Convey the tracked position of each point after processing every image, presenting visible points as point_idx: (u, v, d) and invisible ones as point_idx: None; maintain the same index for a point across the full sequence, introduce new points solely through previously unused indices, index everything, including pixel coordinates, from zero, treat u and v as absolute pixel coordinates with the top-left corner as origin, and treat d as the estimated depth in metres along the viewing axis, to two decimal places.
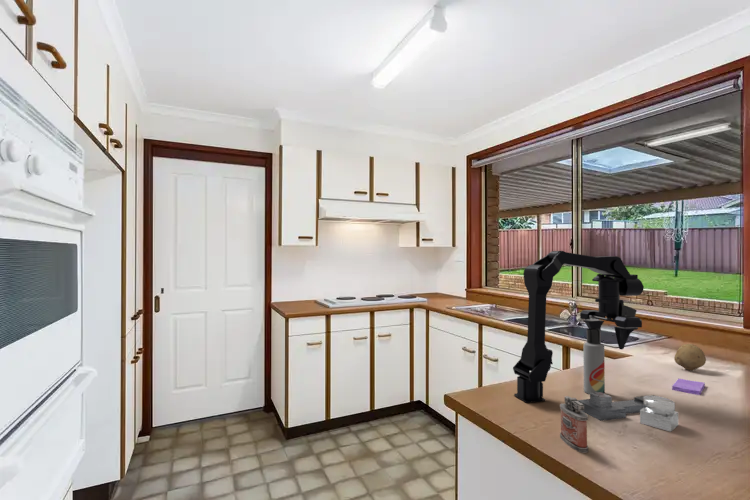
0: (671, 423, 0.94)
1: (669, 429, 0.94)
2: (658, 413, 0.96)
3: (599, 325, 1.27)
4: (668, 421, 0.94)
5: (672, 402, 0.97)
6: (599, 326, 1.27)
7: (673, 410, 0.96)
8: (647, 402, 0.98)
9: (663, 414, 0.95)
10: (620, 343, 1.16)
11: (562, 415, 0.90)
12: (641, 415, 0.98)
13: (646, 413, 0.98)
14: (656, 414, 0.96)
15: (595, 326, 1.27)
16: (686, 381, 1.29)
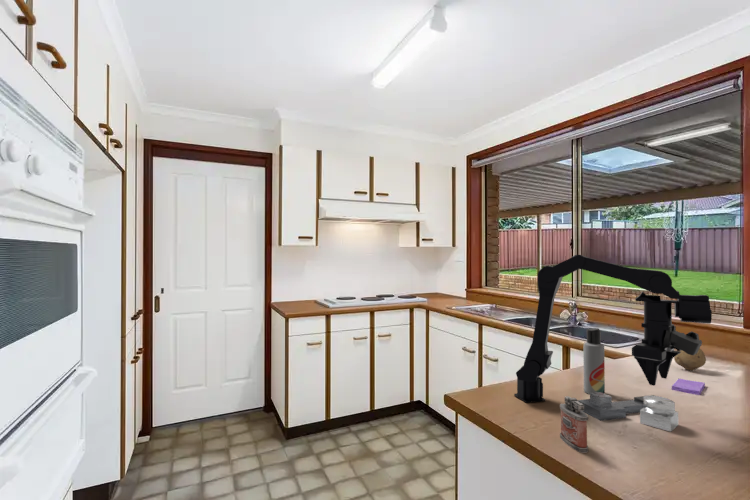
0: (671, 423, 0.94)
1: (669, 429, 0.94)
2: (658, 413, 0.96)
3: (668, 357, 1.01)
4: (668, 421, 0.94)
5: (672, 402, 0.97)
6: (668, 358, 1.01)
7: (673, 410, 0.96)
8: (647, 402, 0.98)
9: (663, 414, 0.95)
10: (646, 376, 0.96)
11: (562, 415, 0.90)
12: (641, 415, 0.98)
13: (646, 413, 0.98)
14: (656, 414, 0.96)
15: None
16: (686, 381, 1.29)
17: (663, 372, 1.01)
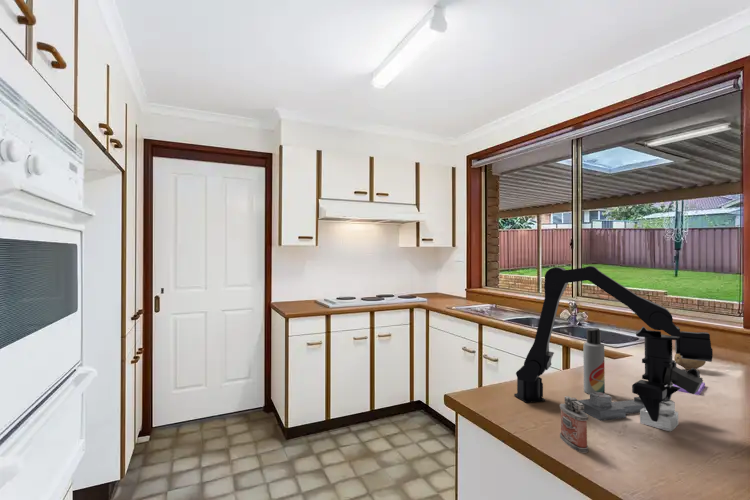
0: (671, 423, 0.94)
1: (669, 429, 0.94)
2: None
3: (667, 393, 1.00)
4: (668, 421, 0.94)
5: (672, 402, 0.97)
6: (667, 394, 1.00)
7: (673, 410, 0.96)
8: None
9: (663, 414, 0.95)
10: (649, 412, 0.96)
11: (562, 415, 0.90)
12: (641, 415, 0.98)
13: (646, 413, 0.98)
14: None
15: None
16: None
17: None
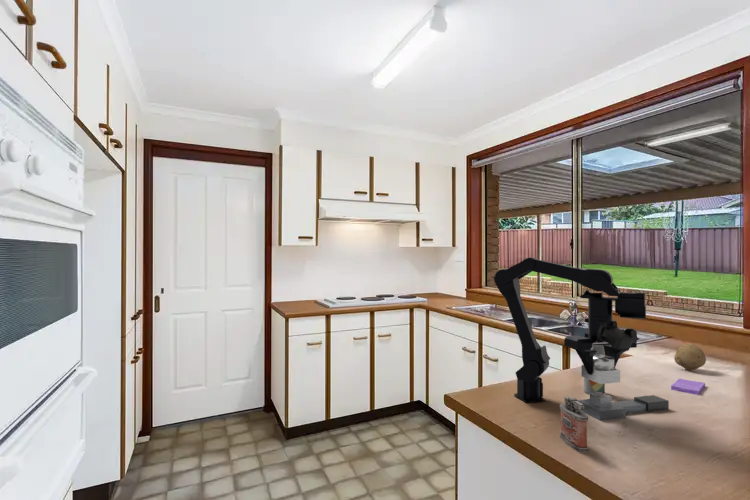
0: (602, 376, 1.01)
1: (599, 381, 1.01)
2: None
3: (614, 353, 1.05)
4: (598, 374, 1.02)
5: (610, 359, 1.03)
6: (614, 354, 1.05)
7: (608, 366, 1.02)
8: None
9: (596, 368, 1.03)
10: (584, 366, 1.05)
11: (562, 415, 0.90)
12: (582, 369, 1.07)
13: None
14: None
15: (609, 352, 1.07)
16: (686, 381, 1.29)
17: None
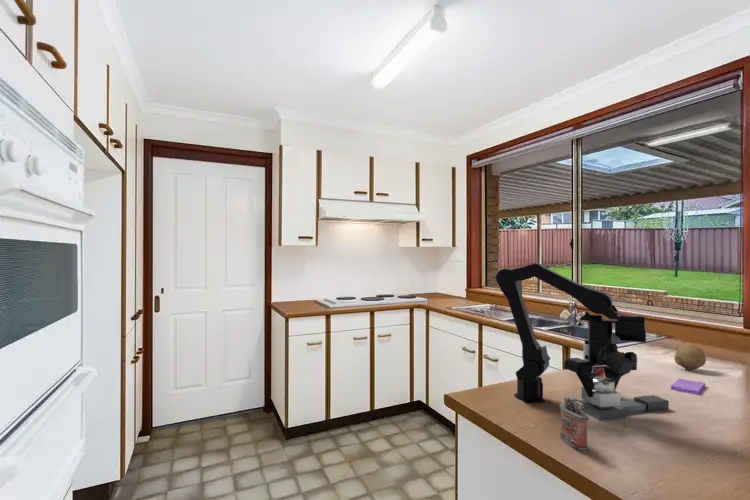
0: (602, 399, 1.01)
1: (599, 405, 1.01)
2: (593, 390, 1.03)
3: (614, 375, 1.05)
4: (599, 397, 1.01)
5: (610, 382, 1.03)
6: (614, 376, 1.05)
7: (608, 389, 1.02)
8: None
9: (597, 391, 1.03)
10: (585, 388, 1.05)
11: (562, 415, 0.90)
12: (582, 391, 1.07)
13: None
14: None
15: (609, 375, 1.06)
16: (686, 381, 1.29)
17: None
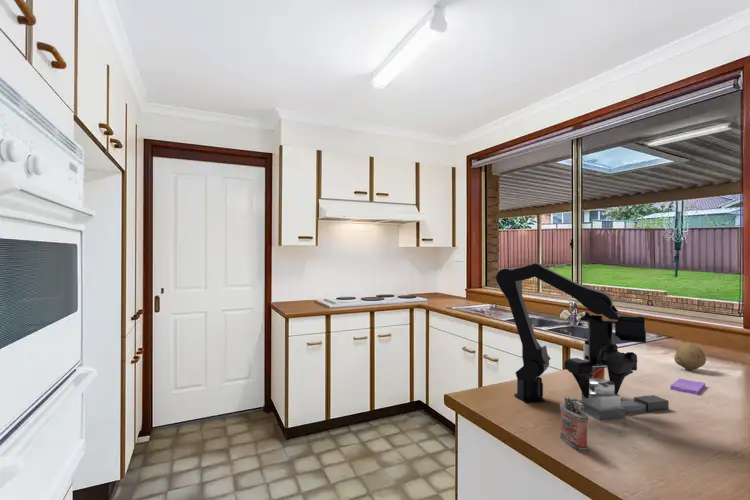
0: (602, 402, 1.01)
1: (599, 407, 1.01)
2: (593, 392, 1.03)
3: (618, 375, 1.05)
4: (599, 400, 1.01)
5: (610, 384, 1.03)
6: (618, 376, 1.05)
7: (608, 391, 1.02)
8: None
9: (597, 393, 1.03)
10: (581, 389, 1.05)
11: (562, 415, 0.90)
12: (582, 394, 1.07)
13: None
14: (591, 393, 1.04)
15: (613, 375, 1.07)
16: (686, 381, 1.29)
17: None
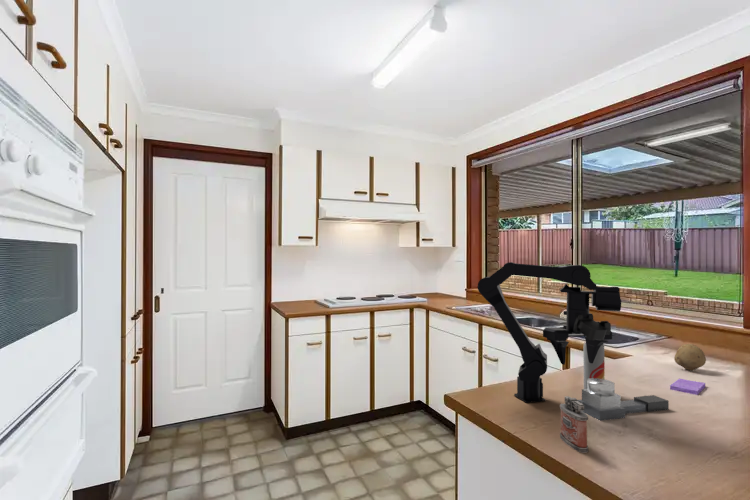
0: (602, 402, 1.01)
1: (599, 407, 1.01)
2: (593, 392, 1.03)
3: (594, 344, 1.11)
4: (599, 400, 1.01)
5: (610, 384, 1.02)
6: (594, 345, 1.11)
7: (608, 391, 1.02)
8: (587, 382, 1.06)
9: (597, 393, 1.03)
10: (558, 356, 1.11)
11: (562, 415, 0.90)
12: (582, 394, 1.07)
13: (585, 392, 1.06)
14: (591, 393, 1.04)
15: (590, 344, 1.12)
16: (686, 381, 1.29)
17: (590, 357, 1.12)
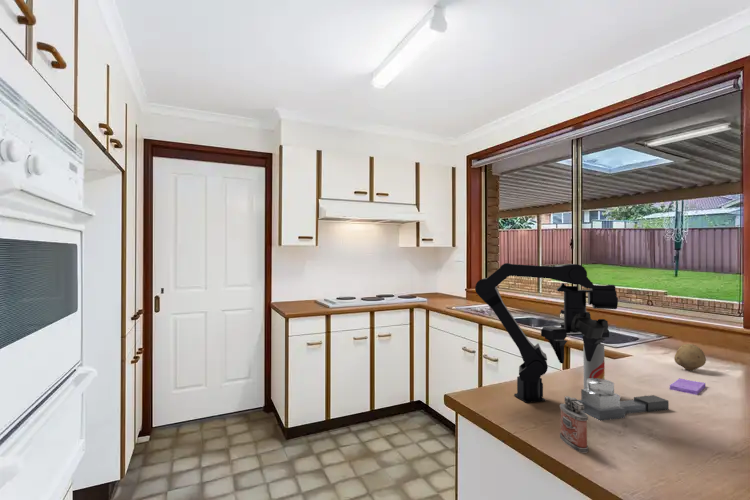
0: (602, 402, 1.01)
1: (599, 407, 1.01)
2: (592, 392, 1.04)
3: (592, 342, 1.12)
4: (598, 400, 1.01)
5: (610, 384, 1.03)
6: (591, 343, 1.12)
7: (608, 391, 1.02)
8: None
9: (596, 393, 1.03)
10: (557, 355, 1.11)
11: (562, 415, 0.90)
12: (582, 394, 1.07)
13: (585, 392, 1.06)
14: (591, 393, 1.04)
15: (587, 342, 1.13)
16: (686, 381, 1.29)
17: (587, 355, 1.13)
